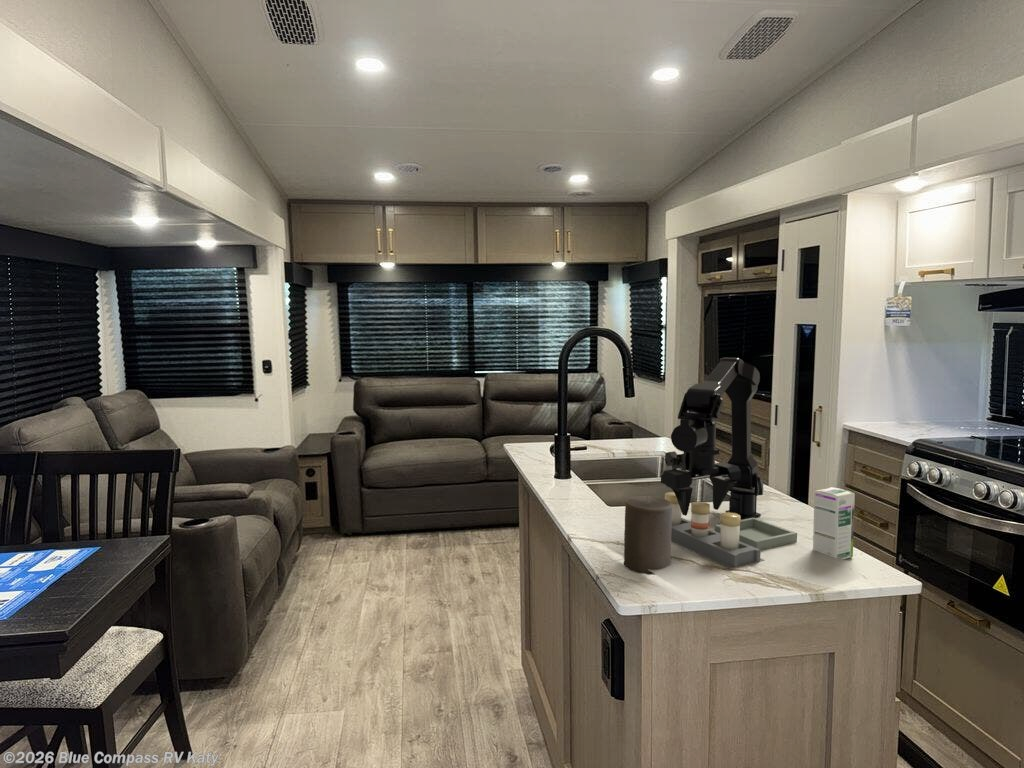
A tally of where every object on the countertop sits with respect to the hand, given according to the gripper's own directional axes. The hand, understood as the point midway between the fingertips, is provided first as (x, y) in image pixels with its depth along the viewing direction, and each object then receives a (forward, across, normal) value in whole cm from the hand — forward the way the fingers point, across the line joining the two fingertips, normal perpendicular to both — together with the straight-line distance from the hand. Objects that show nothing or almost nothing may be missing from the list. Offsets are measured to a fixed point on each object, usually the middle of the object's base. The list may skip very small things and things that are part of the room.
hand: (700, 512), depth 141 cm
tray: (+8, -14, +3) cm, 16 cm away
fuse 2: (+7, 0, +9) cm, 12 cm away
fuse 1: (+7, 0, -9) cm, 11 cm away
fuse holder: (+8, 0, 0) cm, 8 cm away
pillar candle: (+8, +17, +3) cm, 19 cm away
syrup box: (+8, -22, +17) cm, 29 cm away
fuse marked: (+7, 0, 0) cm, 7 cm away
